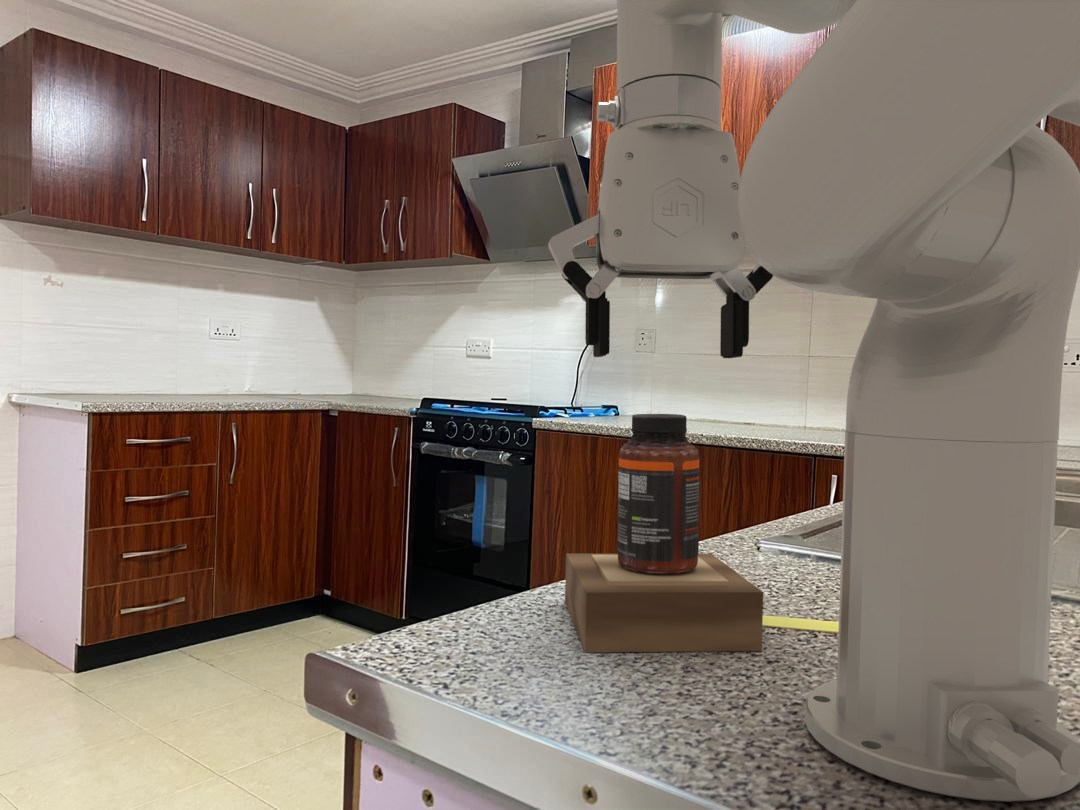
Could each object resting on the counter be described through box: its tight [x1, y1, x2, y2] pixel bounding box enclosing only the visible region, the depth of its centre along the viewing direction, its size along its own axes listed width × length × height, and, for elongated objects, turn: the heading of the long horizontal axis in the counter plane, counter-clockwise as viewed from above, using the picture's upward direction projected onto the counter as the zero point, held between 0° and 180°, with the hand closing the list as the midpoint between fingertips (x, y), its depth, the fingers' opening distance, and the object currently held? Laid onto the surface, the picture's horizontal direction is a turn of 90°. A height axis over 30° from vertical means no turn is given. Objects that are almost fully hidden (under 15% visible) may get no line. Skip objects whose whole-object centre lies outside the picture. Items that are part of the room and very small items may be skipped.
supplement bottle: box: [617, 413, 700, 575], centre depth 60 cm, size 6×6×11 cm
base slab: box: [564, 552, 764, 653], centre depth 61 cm, size 12×12×4 cm
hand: (666, 356), depth 60 cm, fingers open, 9 cm apart
